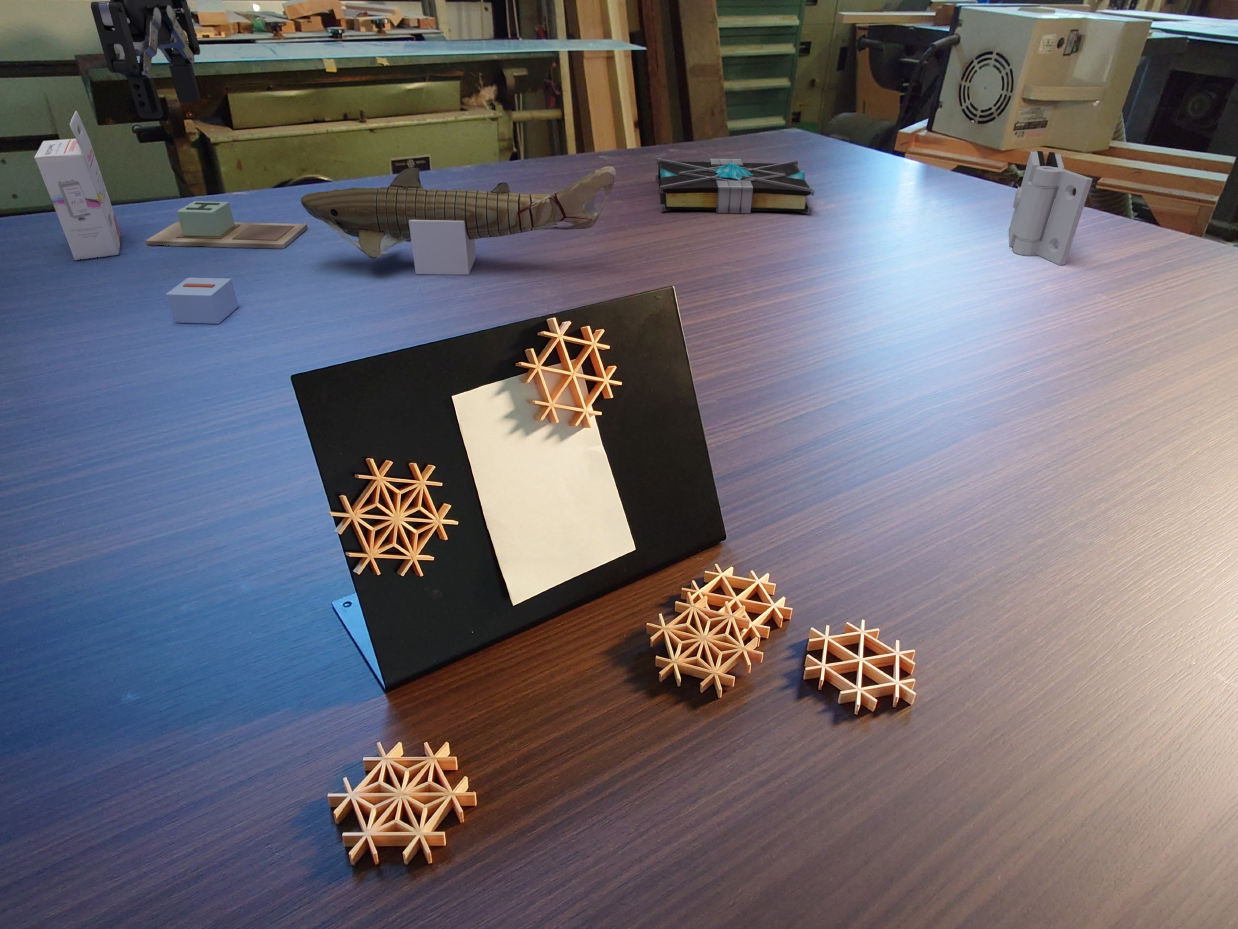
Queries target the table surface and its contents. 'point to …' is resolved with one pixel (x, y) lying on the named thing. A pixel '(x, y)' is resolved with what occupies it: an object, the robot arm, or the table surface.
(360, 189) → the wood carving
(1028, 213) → the hinge
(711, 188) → the book
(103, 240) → the ink cartridge box
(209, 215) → the tile
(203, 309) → the tile
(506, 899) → the table surface
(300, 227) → the word board
